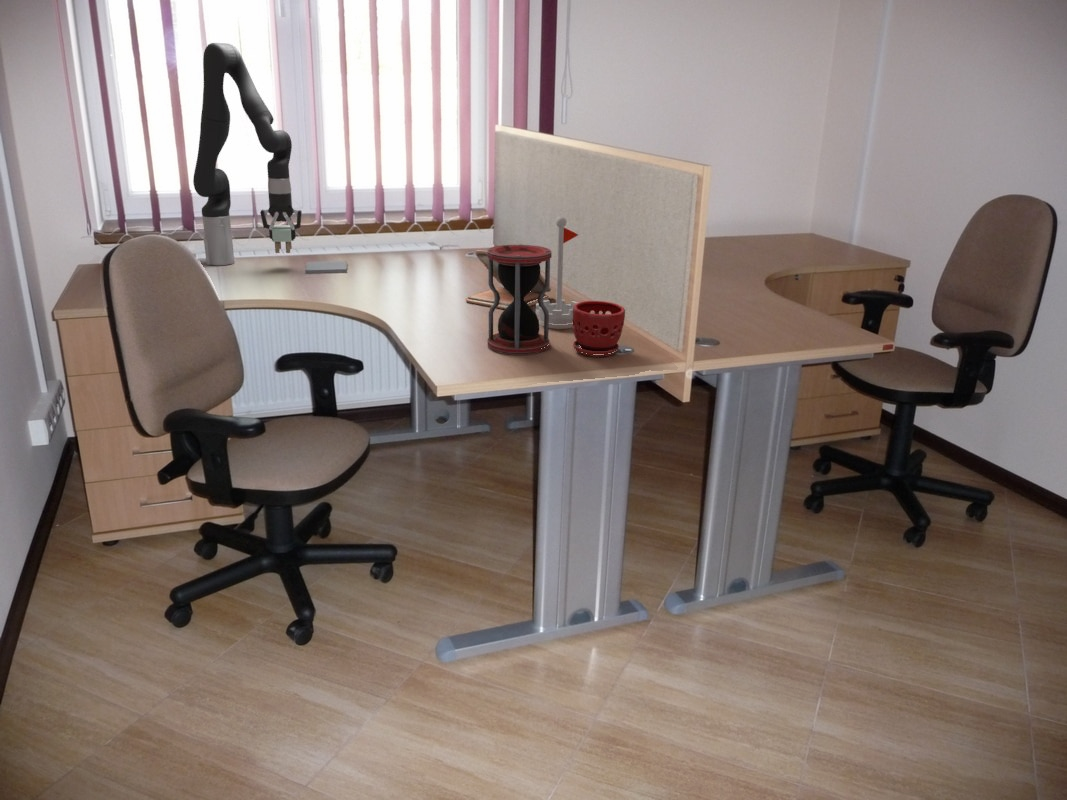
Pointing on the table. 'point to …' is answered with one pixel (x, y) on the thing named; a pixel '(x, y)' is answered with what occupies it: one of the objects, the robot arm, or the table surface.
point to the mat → (326, 267)
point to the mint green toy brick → (282, 237)
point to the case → (503, 289)
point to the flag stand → (559, 286)
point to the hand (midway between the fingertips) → (283, 240)
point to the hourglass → (518, 299)
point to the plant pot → (597, 327)
